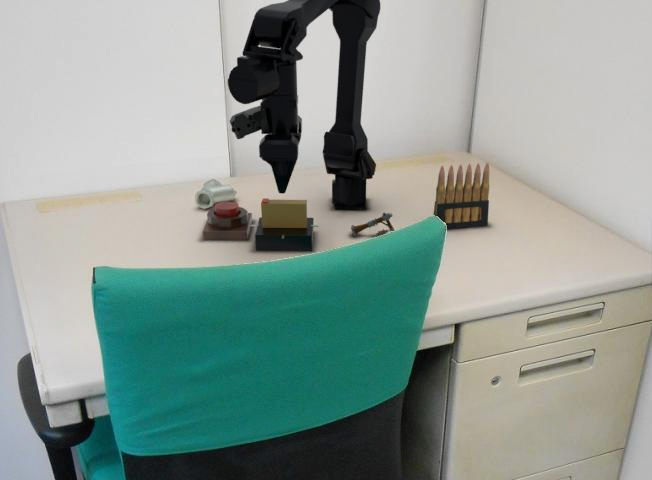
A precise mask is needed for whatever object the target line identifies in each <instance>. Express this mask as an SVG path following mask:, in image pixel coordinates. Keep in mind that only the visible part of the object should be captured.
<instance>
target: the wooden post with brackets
mask: <svg viewBox="0 0 652 480" xmlns="http://www.w3.org/2000/svg"><path fill="white" fill-rule="evenodd" d="M392 217H393V213H391V212H387V213H386V212H383V213H382V215H381V216H380V217H377V218H375V217H374V218H373V219H371V220H369V221H367V222H366V223H363V224H359V225H354V224H351V225H350V229H351V232H352V234H353V237H355V238H356V237H357V235H358V234H359V233H360V232H363V231H364V230H366V229H371V228H372V227H375V226H378V224H383V225H385V226H386V227H387V228H388V229H385V228H382V230H378V231H377V232H376V233H375V236H376V237H380V236H379V235H383V234H388V233H389V232H391V231H395V227H394V225H392V222H391V221H390V220H391V218H392ZM383 236H384V235H383Z"/></svg>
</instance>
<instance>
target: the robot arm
mask: <svg viewBox="0 0 652 480" xmlns="http://www.w3.org/2000/svg"><path fill="white" fill-rule="evenodd" d="M327 10H330V11H331V13H332V15H331V17H332V26H333V29H334V31H335V33H336V35H337V37H338V40H339V53H338V54H339V55H338V70H337V86H336V102H335V103H336V104H335V118H334V119H335V120H334V123H333V124H332V126H331V128H330V129H329V131H325V132H324V135H323V149H322V151H321V153H322V157H323V163H324V167H325V170H326V174H327V175H334V179H332V180H331V203H332V204H333V205H334V210H367V209H368V204H367V180H371V179H373V176H375V173H376V167H377V163H376V162H375V160H374V158H373V157H372V155H371V154H370V152H369V148H368V147H369V145H368V144H369V141H368V137H367V134H366V133H365V131H364V128H363V126H362V109H363V96H364V83H365V71H366V59H367V57H366V55H367V44H368V42H369V40H370V38H371V37H372V35H373V34H374V32H375V31H376V29H377V26H378V20H379V15H380V13H381V0H286V1H282V2H277V3H271V4H269V5H266V6H263V7H260V8H258V10H256V12H255V14H254V16H253V19H252V21H251V25H250V29H249V32H248V34H247V37H246V41H245V43H244V47H243V50H242V55H241V56H237V58H236V65H235V66H233V68H232V69H231V70H230V73H229V74H228V78H227V86H228V91H229V93H230V95H231V96H232V97H233V99H234V100H235V101H236V102H238V103H239V104H242V105H250V104H252V103H255V102H258V101H260V105H258V106H254V107H251V108H248V109H246V110H242V111H240V112H238V113H235V114H234V115H232V116H231V117H230V120H229V124H230V127H231V132H232V133H234V135H235V138H236V140H241V139H244V138H245V137H246V136H249V135H252V134H254V133H257V132H259V131H260V132H261V133H260V134H261V135H264V136H263V137H262V138H261V139H260V140H259V144H258V151H259V153H258V155H259V158H261V160H262V161H263V162H266V163H267V164H268V165H269V166H270V167H271V171H272V174H273V177H274V181H275V185H276V188H277V193H278V194H286V192H287V189H288V186H289V183H290V181H291V177H292V175H293V172H294V170H295V167H296V164H297V162H298V159H299V145H300V143H301V139H302V132H303V118H302V117H301V116H300V115H299V109H298V108H299V95H298V70H297V66H298V65H297V62H298V61H301V60H303V58H304V55H303V54H302V52H300V51H299V50H298V47H299V46H300V45H301V43H302V42H303V41H304V39H306V37H307V35H308V33H307V32H308V27H309V26H310V24H312V23H313V22H314V21H315V20H316V19H318V18H319V17H320V16H322V15H323V14H324V13H325V12H327Z"/></svg>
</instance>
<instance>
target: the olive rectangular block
mask: <svg viewBox="0 0 652 480" xmlns="http://www.w3.org/2000/svg"><path fill="white" fill-rule="evenodd" d="M260 209H261V210H260V212H261V217H262V228H307V218H308V200H307V199H270V198H268V197H267V198H266V197H263V198H262V199H261V203H260Z"/></svg>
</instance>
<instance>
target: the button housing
mask: <svg viewBox="0 0 652 480" xmlns="http://www.w3.org/2000/svg"><path fill="white" fill-rule="evenodd" d="M206 218H207V219H206V222H205V225H204V228H203V230H202V237H203V241H248V239H249V235H250V232H251V228H252V226H251V225H253V213H252V212H248V210H247V209H246V208H244V207H241V206H239V215H237V216H233V217H219V216H216V215H215V207H213V208H211V209H209V210H208V211H207V213H206Z"/></svg>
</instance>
